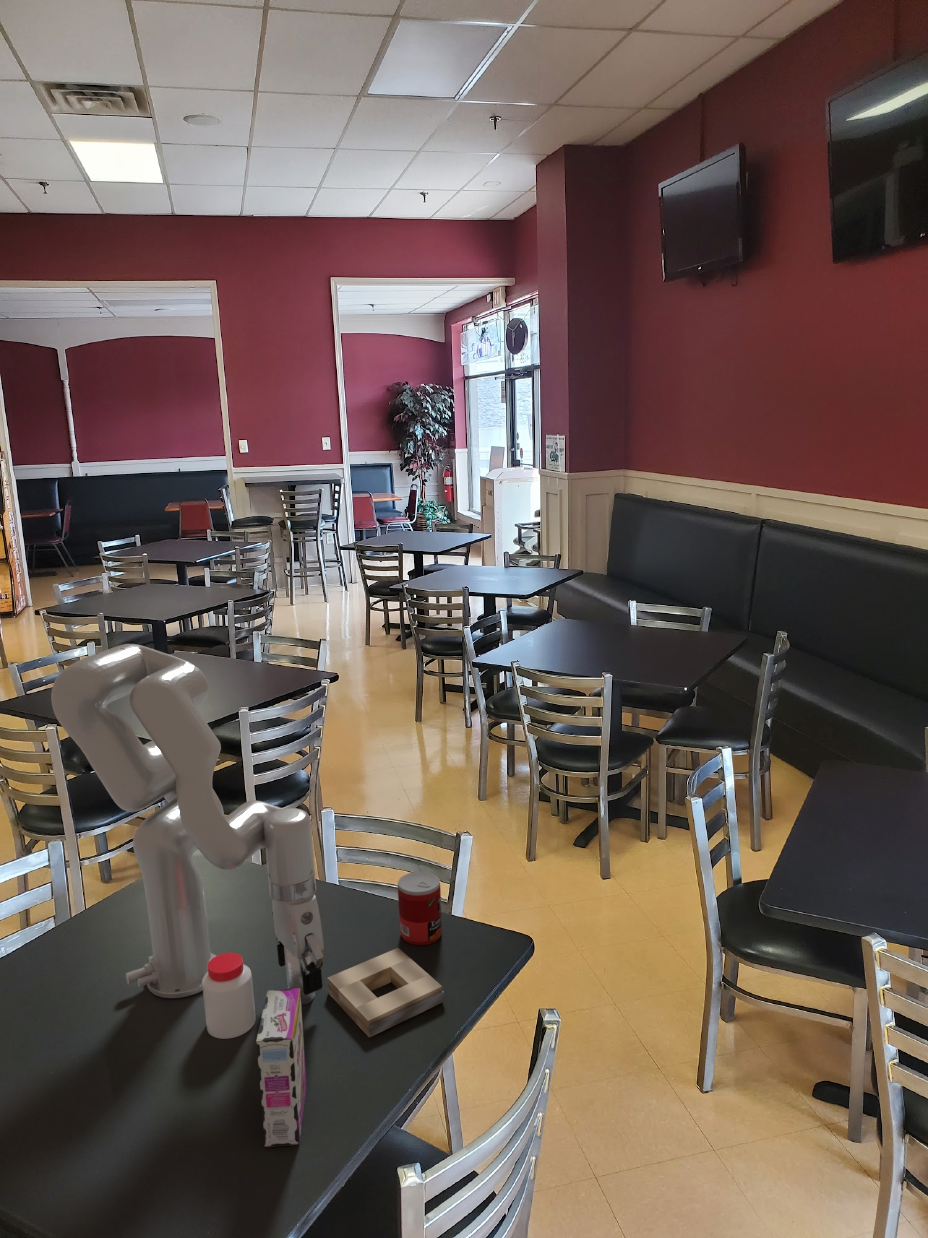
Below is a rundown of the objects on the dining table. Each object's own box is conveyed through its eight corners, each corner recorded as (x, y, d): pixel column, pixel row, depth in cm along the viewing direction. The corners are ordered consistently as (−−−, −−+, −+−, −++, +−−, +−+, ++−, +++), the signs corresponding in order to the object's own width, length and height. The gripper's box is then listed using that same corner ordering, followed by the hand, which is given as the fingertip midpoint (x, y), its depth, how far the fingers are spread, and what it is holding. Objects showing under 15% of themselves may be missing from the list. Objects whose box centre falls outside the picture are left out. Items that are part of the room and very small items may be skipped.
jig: (371, 1039, 138) (370, 1023, 137) (328, 993, 150) (327, 977, 149) (444, 1004, 146) (444, 988, 145) (398, 962, 157) (398, 947, 157)
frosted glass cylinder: (295, 1008, 146) (290, 955, 144) (284, 995, 149) (279, 942, 147) (319, 998, 148) (315, 945, 146) (307, 985, 152) (303, 933, 150)
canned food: (437, 948, 161) (434, 893, 159) (395, 944, 163) (392, 890, 161) (446, 925, 169) (444, 872, 166) (406, 921, 170) (403, 870, 168)
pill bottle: (212, 1045, 138) (205, 983, 135) (202, 1017, 145) (195, 957, 142) (261, 1029, 141) (255, 968, 139) (249, 1002, 148) (243, 943, 146)
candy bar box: (302, 1146, 118) (292, 1039, 114) (264, 1149, 118) (253, 1042, 114) (309, 1085, 129) (301, 986, 125) (274, 1088, 128) (265, 988, 125)
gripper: (337, 898, 140) (344, 993, 143) (291, 857, 153) (298, 945, 157) (293, 914, 135) (302, 1012, 139) (250, 871, 149) (258, 961, 153)
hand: (300, 976), depth 148 cm, fingers open, 9 cm apart
